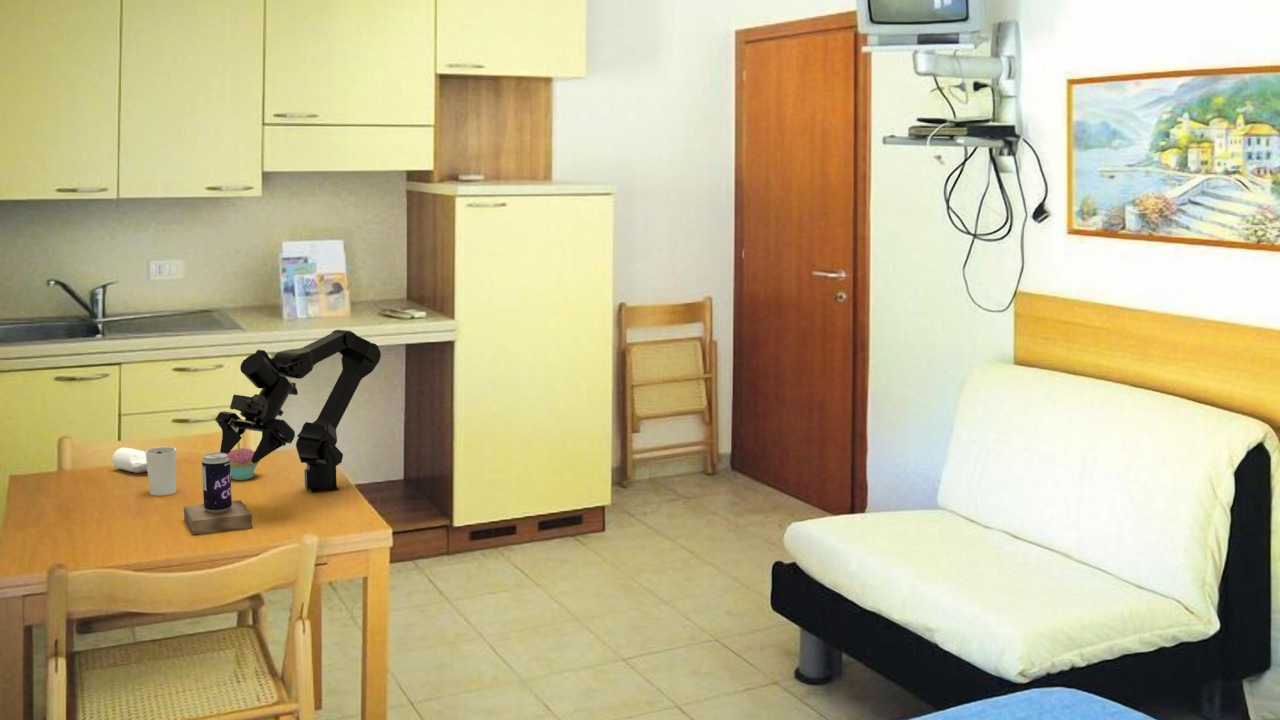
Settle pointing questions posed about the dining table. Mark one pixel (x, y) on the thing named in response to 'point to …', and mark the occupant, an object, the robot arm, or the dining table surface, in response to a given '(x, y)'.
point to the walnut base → (217, 518)
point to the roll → (130, 460)
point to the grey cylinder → (161, 470)
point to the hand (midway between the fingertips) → (236, 459)
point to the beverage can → (216, 482)
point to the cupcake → (241, 463)
